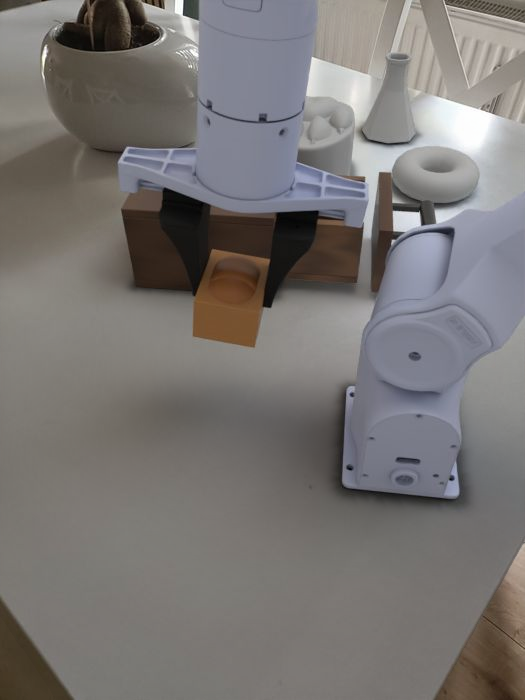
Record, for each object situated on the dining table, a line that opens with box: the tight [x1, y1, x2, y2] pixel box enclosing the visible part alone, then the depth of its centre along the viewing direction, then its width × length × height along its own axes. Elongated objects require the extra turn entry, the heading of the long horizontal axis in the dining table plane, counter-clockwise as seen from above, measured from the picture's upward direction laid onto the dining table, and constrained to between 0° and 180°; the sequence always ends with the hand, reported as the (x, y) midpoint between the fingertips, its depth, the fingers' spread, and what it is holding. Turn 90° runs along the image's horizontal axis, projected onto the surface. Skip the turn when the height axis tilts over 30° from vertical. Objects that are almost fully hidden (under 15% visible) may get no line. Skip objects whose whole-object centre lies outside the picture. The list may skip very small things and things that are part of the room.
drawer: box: [275, 171, 437, 294], centre depth 60 cm, size 17×10×7 cm, turn 82°
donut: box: [391, 145, 481, 204], centre depth 72 cm, size 10×4×10 cm
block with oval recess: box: [192, 249, 270, 349], centre depth 42 cm, size 6×4×4 cm
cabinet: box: [120, 188, 277, 292], centre depth 61 cm, size 14×12×9 cm
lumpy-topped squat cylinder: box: [296, 95, 356, 176], centre depth 72 cm, size 10×13×9 cm
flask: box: [361, 51, 417, 144], centre depth 81 cm, size 7×7×10 cm
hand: (234, 293), depth 43 cm, fingers closed on block with oval recess, 4 cm apart
